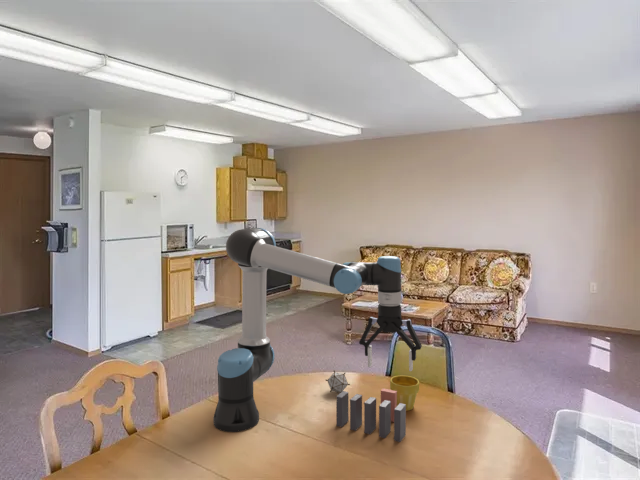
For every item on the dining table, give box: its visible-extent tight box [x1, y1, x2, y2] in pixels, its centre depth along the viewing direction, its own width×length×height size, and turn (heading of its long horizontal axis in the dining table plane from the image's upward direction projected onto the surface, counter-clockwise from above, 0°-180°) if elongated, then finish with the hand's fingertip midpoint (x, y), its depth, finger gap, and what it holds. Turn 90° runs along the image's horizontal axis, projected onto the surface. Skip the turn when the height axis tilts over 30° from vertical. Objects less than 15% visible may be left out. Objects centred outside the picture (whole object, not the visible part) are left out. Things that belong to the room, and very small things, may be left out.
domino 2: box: [349, 393, 363, 432], centre depth 149 cm, size 2×5×10 cm, turn 151°
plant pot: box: [389, 374, 420, 412], centre depth 164 cm, size 10×10×10 cm
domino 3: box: [363, 396, 377, 435], centre depth 147 cm, size 2×5×10 cm, turn 151°
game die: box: [325, 370, 351, 394], centre depth 177 cm, size 9×8×10 cm
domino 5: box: [378, 400, 392, 439], centre depth 144 cm, size 2×5×10 cm, turn 151°
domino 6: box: [393, 403, 407, 443], centre depth 142 cm, size 2×5×10 cm, turn 151°
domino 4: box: [380, 388, 397, 423], centre depth 154 cm, size 2×5×10 cm, turn 61°
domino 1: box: [335, 390, 350, 428], centre depth 152 cm, size 2×5×10 cm, turn 151°
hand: (390, 367), depth 150 cm, fingers open, 13 cm apart
